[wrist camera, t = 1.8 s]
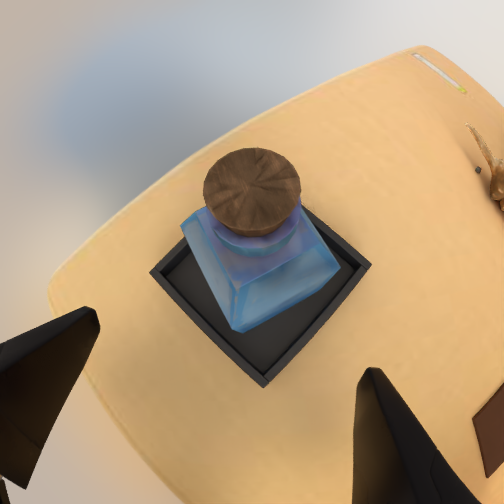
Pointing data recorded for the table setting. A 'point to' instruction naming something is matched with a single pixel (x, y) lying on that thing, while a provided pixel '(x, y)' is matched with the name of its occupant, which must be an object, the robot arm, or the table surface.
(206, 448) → the table surface
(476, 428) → the mat
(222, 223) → the perfume bottle
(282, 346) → the tray
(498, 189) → the spiral seashell
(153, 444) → the table surface
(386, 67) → the table surface
